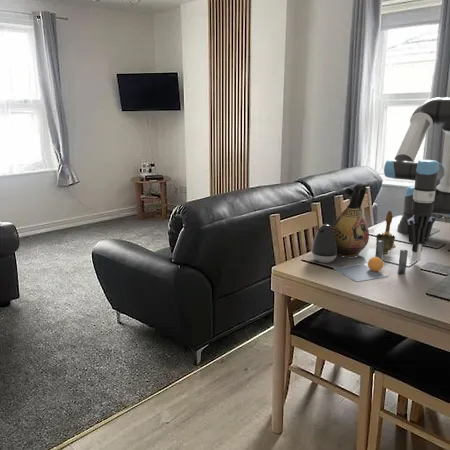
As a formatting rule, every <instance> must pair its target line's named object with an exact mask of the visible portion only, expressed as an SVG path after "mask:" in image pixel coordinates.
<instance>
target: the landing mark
mask: <svg viewBox="0 0 450 450" xmlns="http://www.w3.org/2000/svg"><path fill="white" fill-rule="evenodd" d="M332 269H333V270H334V271H336V272H338V273H339V274H342V275H343V276H344V277H347V278H349V279H350V280H352V281H354V282H356V283H359V282H365V281H371V280H376V279H383V278H388V277H389V276H388V275H386V274H384V273H382V272H380V271H377V272H375V271H372V270H370V268H369V267H368V265H366V264H364V263H361V264H360V263H359V264H353V265H347V266H339V267H333V268H332Z"/></svg>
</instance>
